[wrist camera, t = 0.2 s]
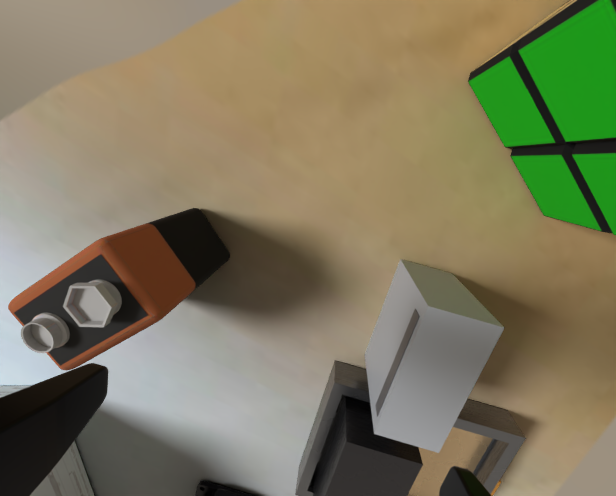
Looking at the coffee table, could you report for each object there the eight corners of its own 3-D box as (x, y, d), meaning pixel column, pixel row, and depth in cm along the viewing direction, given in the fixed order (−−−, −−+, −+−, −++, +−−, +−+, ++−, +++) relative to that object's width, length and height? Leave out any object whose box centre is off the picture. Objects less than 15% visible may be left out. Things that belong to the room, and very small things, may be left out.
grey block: (411, 367, 23) (439, 453, 16) (364, 354, 23) (373, 433, 16) (452, 273, 20) (505, 328, 14) (399, 258, 21) (427, 305, 14)
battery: (234, 256, 22) (151, 331, 12) (165, 296, 23) (44, 390, 14) (199, 203, 21) (81, 241, 11) (130, 249, 23) (-25, 315, 13)
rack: (450, 511, 26) (478, 601, 21) (299, 466, 27) (288, 542, 21) (510, 411, 23) (561, 487, 18) (335, 360, 23) (333, 420, 18)
